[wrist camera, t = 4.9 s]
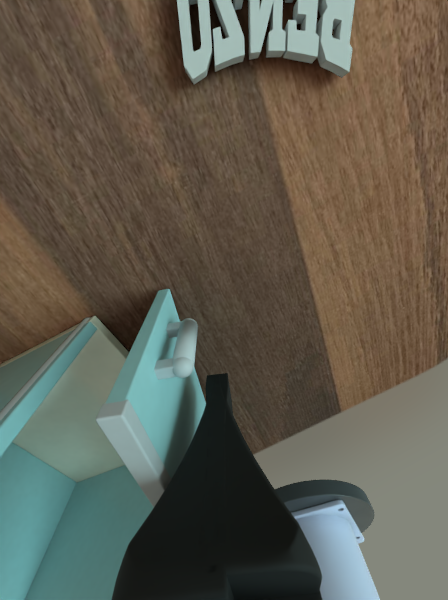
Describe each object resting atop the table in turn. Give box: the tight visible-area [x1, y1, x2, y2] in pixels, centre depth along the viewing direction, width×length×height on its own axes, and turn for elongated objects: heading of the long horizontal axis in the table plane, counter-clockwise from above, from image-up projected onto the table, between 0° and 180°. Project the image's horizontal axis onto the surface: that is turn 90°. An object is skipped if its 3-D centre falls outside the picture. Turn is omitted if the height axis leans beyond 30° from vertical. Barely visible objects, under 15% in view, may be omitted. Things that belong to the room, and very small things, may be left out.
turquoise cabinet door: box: [96, 289, 206, 507], centre depth 11 cm, size 12×2×7 cm, turn 10°
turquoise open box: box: [0, 316, 154, 600], centre depth 13 cm, size 13×13×8 cm
